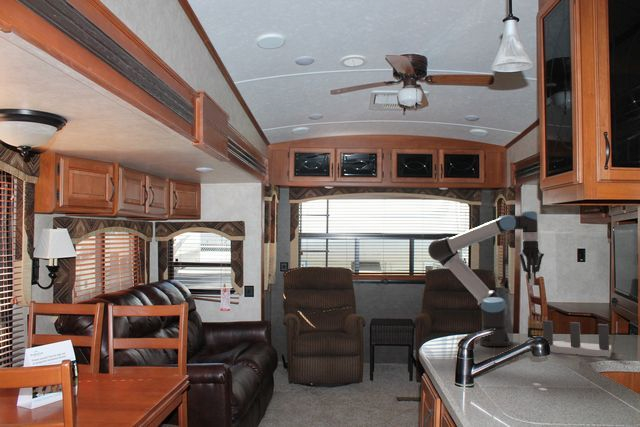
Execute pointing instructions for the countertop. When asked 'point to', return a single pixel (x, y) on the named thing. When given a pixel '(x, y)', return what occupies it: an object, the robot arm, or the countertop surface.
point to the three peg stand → (585, 348)
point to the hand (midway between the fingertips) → (531, 285)
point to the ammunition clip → (537, 329)
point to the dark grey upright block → (575, 334)
